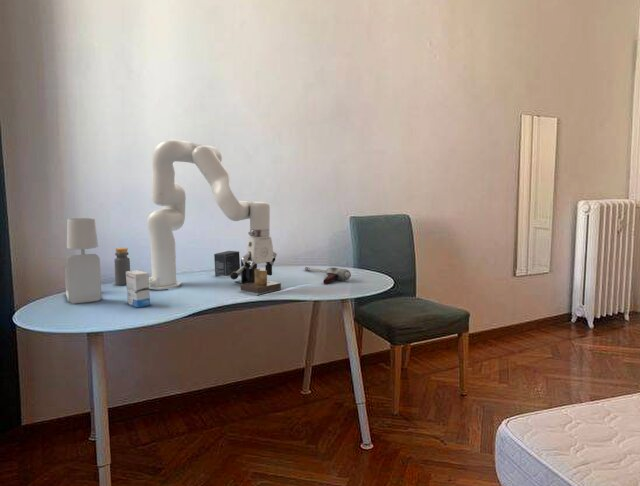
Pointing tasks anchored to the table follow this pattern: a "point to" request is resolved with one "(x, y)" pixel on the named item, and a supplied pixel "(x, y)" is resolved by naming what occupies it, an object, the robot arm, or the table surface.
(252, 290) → the lock plate
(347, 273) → the grey pistol
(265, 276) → the thumbturn
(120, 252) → the bottle
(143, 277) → the ink box
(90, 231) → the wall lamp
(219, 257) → the box
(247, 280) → the handle bracket
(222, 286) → the table surface
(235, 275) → the door lever
